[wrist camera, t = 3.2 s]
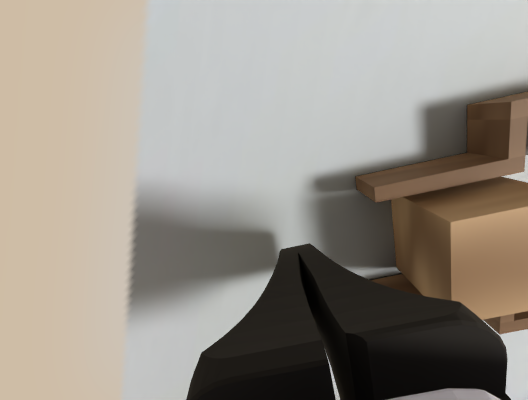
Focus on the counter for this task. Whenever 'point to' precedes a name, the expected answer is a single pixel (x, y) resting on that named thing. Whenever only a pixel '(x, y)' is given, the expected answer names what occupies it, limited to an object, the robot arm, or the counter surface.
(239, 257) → the counter surface
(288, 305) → the robot arm
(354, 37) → the counter surface
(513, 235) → the oak block
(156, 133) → the counter surface
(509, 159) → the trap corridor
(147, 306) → the counter surface
